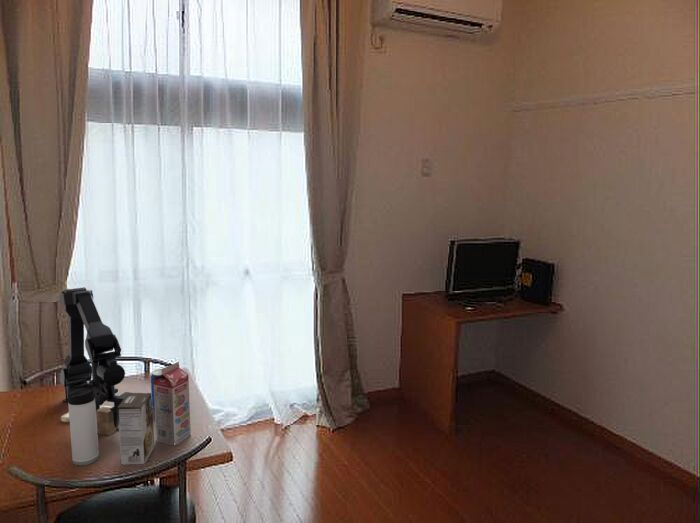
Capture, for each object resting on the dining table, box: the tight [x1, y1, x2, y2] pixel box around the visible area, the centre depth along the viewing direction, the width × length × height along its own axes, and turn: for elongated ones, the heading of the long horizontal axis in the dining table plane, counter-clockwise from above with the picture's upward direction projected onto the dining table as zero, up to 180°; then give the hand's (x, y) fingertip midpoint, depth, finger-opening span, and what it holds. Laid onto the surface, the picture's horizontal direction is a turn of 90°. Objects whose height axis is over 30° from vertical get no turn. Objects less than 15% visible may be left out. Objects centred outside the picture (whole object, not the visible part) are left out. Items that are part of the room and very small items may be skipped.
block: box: [96, 407, 117, 436], centre depth 157 cm, size 4×12×7 cm, turn 167°
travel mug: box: [67, 382, 100, 466], centre depth 137 cm, size 6×7×20 cm
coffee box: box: [117, 392, 155, 465], centre depth 140 cm, size 9×6×16 cm
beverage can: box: [150, 368, 162, 409], centre depth 170 cm, size 6×6×12 cm
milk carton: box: [153, 361, 192, 447], centre depth 149 cm, size 7×7×22 cm
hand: (106, 425), depth 153 cm, fingers open, 6 cm apart
